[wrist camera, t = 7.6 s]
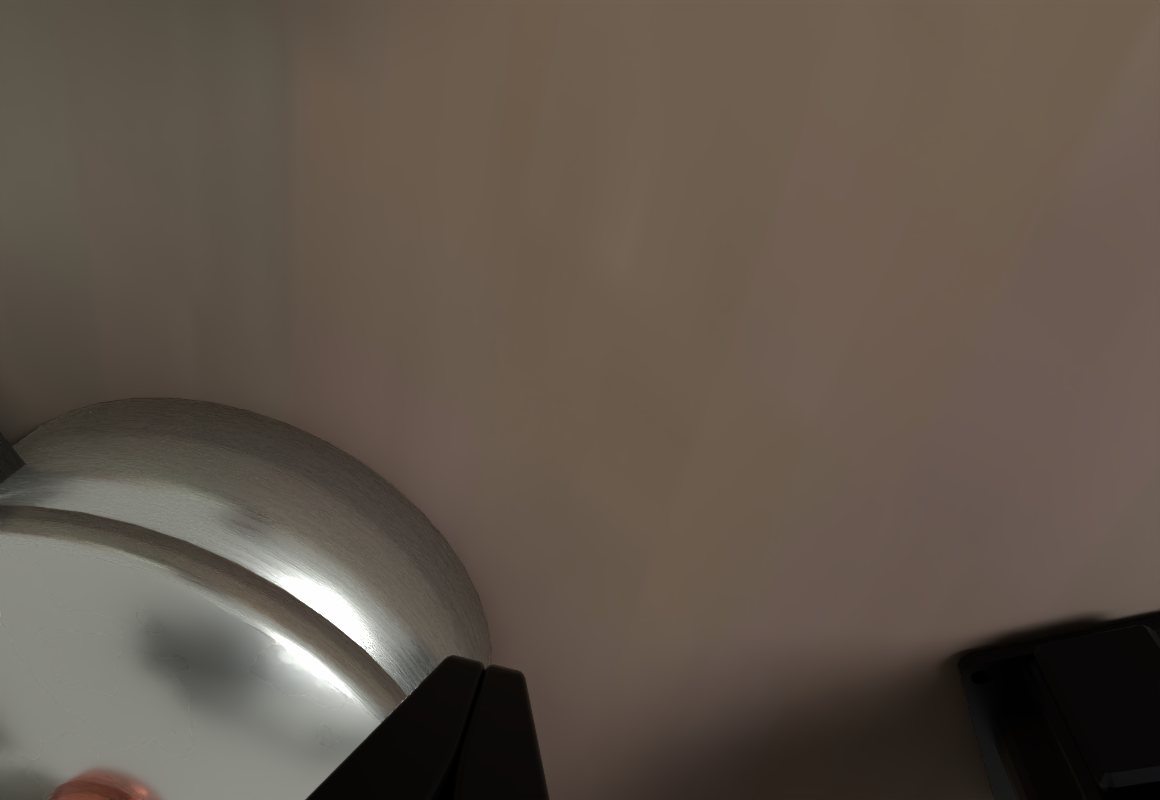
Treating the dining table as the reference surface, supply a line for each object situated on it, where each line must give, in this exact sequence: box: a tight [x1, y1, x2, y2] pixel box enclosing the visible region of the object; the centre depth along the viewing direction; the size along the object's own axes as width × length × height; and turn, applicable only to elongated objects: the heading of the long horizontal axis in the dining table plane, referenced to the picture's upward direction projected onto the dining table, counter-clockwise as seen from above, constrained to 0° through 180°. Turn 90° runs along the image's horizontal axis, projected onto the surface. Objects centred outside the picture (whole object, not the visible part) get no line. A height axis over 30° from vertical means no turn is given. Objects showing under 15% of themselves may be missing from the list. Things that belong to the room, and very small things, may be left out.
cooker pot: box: [0, 398, 491, 696], centre depth 22 cm, size 22×16×5 cm
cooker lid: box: [0, 505, 407, 800], centre depth 18 cm, size 23×17×2 cm
